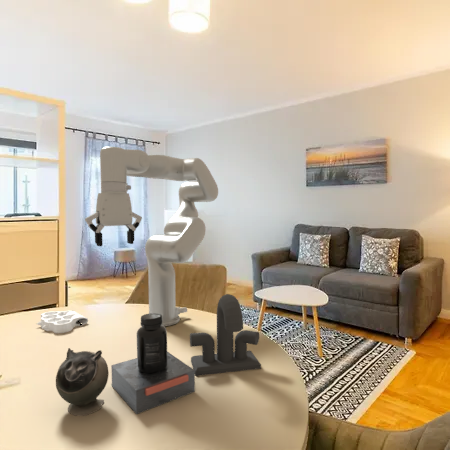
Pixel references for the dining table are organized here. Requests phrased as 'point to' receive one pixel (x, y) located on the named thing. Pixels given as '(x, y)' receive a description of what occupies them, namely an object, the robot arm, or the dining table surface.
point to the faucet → (225, 342)
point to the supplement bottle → (151, 344)
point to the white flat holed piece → (61, 321)
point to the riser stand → (152, 383)
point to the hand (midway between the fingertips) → (115, 244)
